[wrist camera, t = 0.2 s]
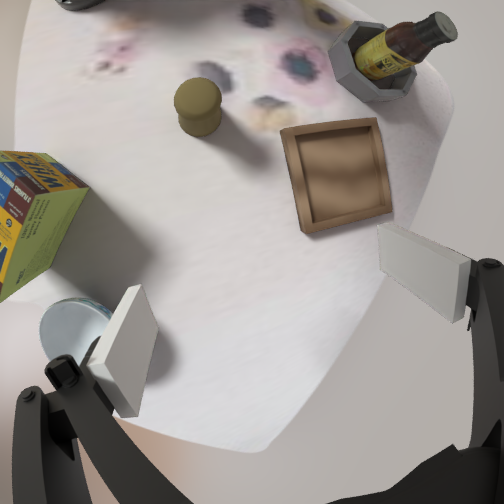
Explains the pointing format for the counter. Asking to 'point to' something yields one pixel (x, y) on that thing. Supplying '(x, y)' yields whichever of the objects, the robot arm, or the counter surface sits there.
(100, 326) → the chinaware
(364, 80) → the holder cup
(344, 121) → the tray
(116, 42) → the counter surface
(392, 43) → the sauce bottle
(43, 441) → the robot arm
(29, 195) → the protein box
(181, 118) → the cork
